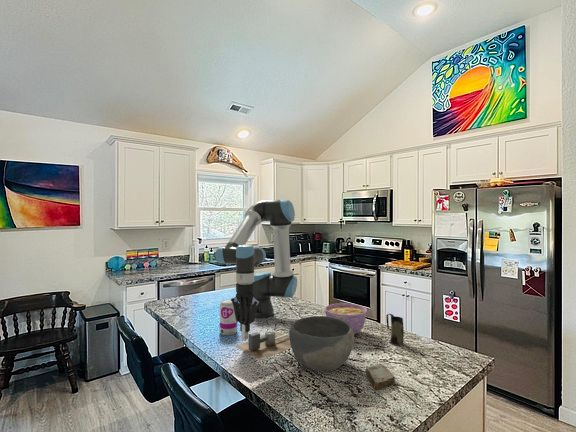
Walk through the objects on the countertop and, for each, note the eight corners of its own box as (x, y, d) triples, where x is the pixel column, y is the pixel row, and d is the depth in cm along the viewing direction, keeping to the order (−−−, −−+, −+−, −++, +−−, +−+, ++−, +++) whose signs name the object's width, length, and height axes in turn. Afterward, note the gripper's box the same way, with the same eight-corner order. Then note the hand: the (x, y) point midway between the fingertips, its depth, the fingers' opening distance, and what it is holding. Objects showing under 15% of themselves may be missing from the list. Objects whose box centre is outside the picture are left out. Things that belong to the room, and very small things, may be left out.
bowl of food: (371, 329, 162) (371, 306, 162) (362, 344, 144) (362, 317, 144) (331, 323, 170) (331, 301, 170) (318, 336, 152) (318, 311, 152)
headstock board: (274, 333, 157) (274, 330, 156) (305, 345, 142) (305, 342, 142) (231, 347, 140) (231, 344, 140) (261, 362, 125) (261, 358, 125)
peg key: (285, 335, 149) (285, 322, 149) (291, 338, 146) (291, 324, 146) (247, 349, 135) (247, 333, 135) (253, 352, 131) (253, 336, 131)
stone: (362, 370, 120) (362, 361, 120) (385, 369, 121) (385, 361, 121) (374, 392, 105) (374, 382, 105) (400, 391, 106) (400, 382, 106)
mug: (406, 344, 144) (406, 316, 144) (398, 347, 141) (398, 318, 141) (391, 338, 150) (391, 312, 150) (383, 341, 147) (383, 314, 147)
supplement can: (233, 336, 153) (233, 304, 153) (217, 335, 155) (217, 303, 155) (239, 330, 161) (239, 299, 161) (223, 329, 163) (223, 298, 162)
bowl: (338, 389, 107) (338, 342, 107) (276, 370, 120) (276, 328, 120) (364, 360, 127) (364, 321, 127) (308, 347, 140) (308, 311, 140)
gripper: (226, 282, 137) (226, 339, 137) (253, 285, 131) (253, 345, 131) (237, 279, 143) (237, 333, 143) (263, 282, 138) (263, 339, 138)
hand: (245, 339), depth 137 cm, fingers closed
